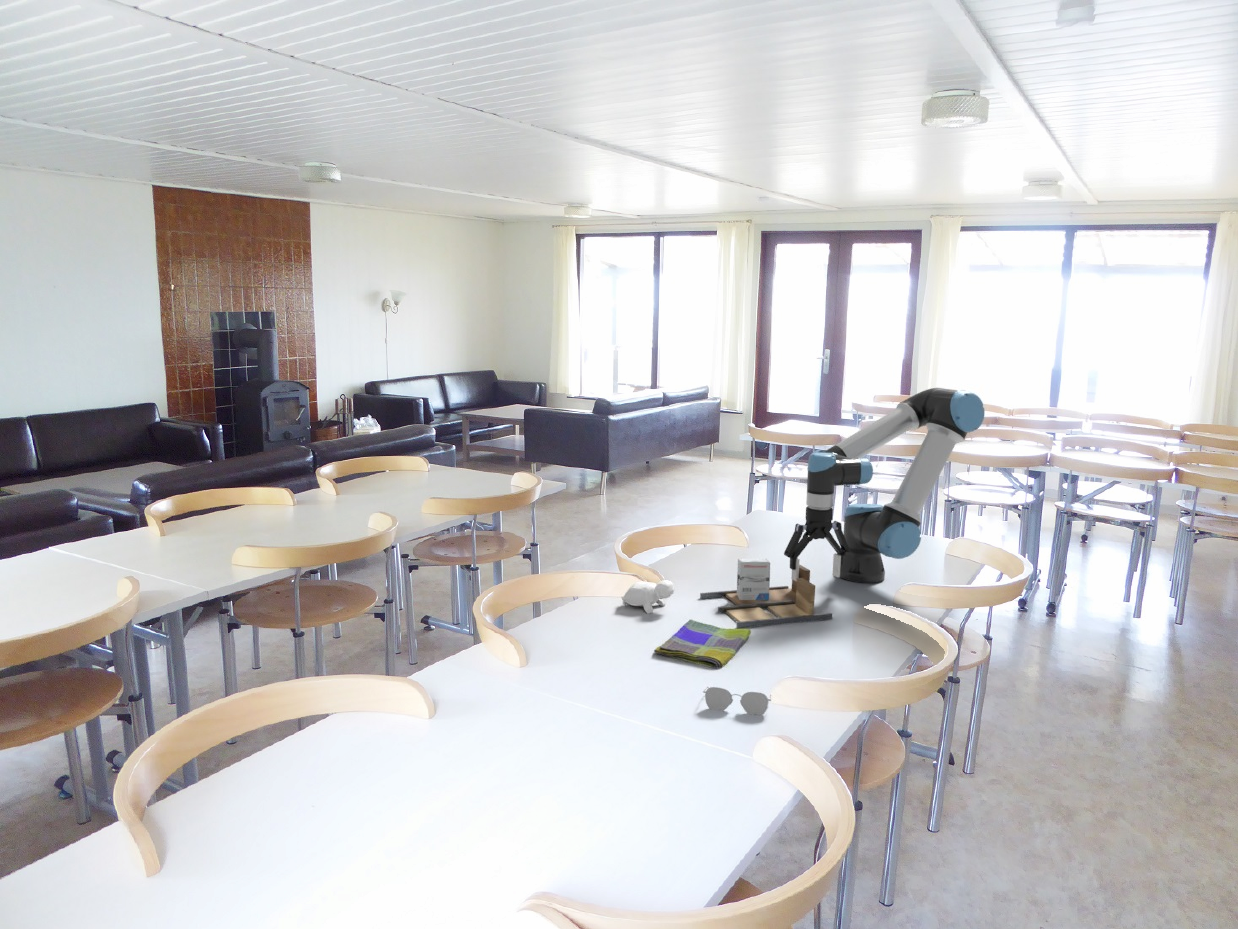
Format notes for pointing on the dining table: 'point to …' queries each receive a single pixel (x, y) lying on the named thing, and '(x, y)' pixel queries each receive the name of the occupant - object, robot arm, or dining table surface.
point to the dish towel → (704, 644)
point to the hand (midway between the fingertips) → (815, 578)
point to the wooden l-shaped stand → (782, 606)
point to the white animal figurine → (648, 594)
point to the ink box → (753, 579)
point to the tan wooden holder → (776, 591)
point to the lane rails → (764, 606)
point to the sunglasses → (749, 700)
